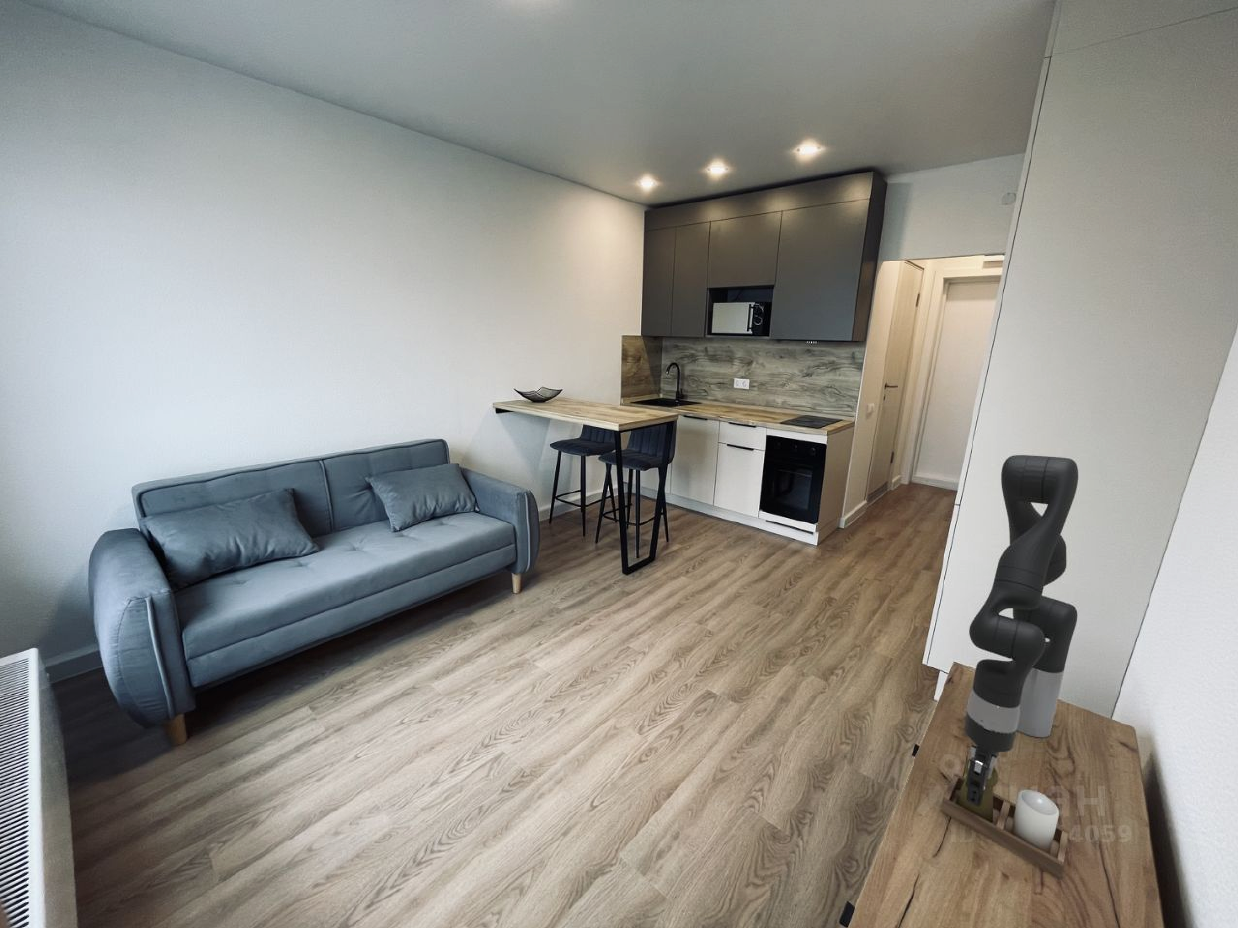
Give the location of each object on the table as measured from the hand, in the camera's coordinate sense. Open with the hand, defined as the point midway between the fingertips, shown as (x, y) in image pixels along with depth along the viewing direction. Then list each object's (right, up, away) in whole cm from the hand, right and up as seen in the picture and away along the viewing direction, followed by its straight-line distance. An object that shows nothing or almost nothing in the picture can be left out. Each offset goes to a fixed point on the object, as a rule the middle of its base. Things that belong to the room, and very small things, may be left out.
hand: (978, 789), depth 94 cm
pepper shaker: (0, -5, +1) cm, 6 cm away
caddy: (+3, -7, -2) cm, 7 cm away
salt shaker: (+6, -6, -5) cm, 10 cm away
